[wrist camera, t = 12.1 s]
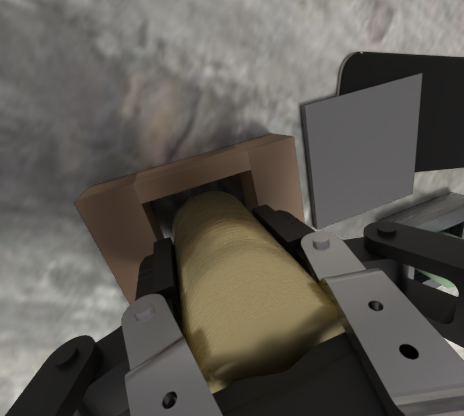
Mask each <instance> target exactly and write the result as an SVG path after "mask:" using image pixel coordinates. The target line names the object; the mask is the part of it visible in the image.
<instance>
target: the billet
mask: <svg viewBox="0 0 464 416" xmlns="http://www.w3.org/2000/svg"><path fill="white" fill-rule="evenodd" d="M172 234H173V243H174V252H175V261H176V270H177V279H178V288H179V297H180V306H181V315H182V324H183V333H184V339H185V341H186V343H187V345H188V347H189V349H190V351H191V353H192V355H193V357H194V359H195V361H196V363H197V365H198V367H199V369H200V371H201V373H202V375H203V377H204V379H205V381H206V383H207V385H208V387H209V389H210V391H211V393H212V394H213V393H215V392H217V391H219V390H221V389H224V388H226V387H228V386H230V385H232V384H234V383H236V382H239V381H241V380H243V379H249V378H254V377H260V376H266V375H272V374H278V373H283V372H286V371H287V370H289V369H290V368H291V367H292V366H293V365H294V364H295V363H297V362H298V361H299V360H300V359H301V358H302V357H303V356H304V355H306V354H307V353H308V352H309V351H310V350H311V349H312V348H314V347H315V346H316V345H318V344H320V343H322V342H324V341H326V340H328V339H331V338H333V337H335V336H337V335H339V334H341V333H343V332H346V331H345V330H344V328H343V326H342V324H341V323H340V322H339V321H338V315H337V308H336V307H335V305H334V304H333V302H332V301H331V299H330V298H329V297H328V295H327V294H326V293H325V291H324V290H323V289H322V288H321V286H320V285H319V284H318V283H317V282H316V281H315V280H314V279H313V278H312V277H311V276H310V275H309V274H308V273H307V272H306V271H305V270H304V268H303V267H302V266H301V265H300V264H299V263H298V262H297V261H296V260H295V259H294V258H293V257H292V256H291V255H290V254H289V253H288V252H287V251H286V250H285V249H284V248H283V246H282V245H281V244H280V243H279V242H278V241H277V240H276V239H275V238H274V237H273V236H272V235H271V234H270V233H269V232H268V231H267V230H266V229H265V228H264V227H263V226H262V224H261V223H260V222H259V221H258V220H257V219H256V218H255V217H254V216H253V215H252V214H251V213H250V212H249V211H248V210H247V209H246V208H245V207H244V206H243V205H242V204H241V202H240V201H239V200H237V199H236V198H235V197H233V196H232V195H230V194H227V193H224V192H220V191H208V192H203V193H200V194H197V195H195V196H193V197H191V198H190V199H188V200H187V201H186V202H185V203H184V204H183V205H182V206H181V207H180V208H179V210H178V211H177V213H176V215H175V217H174V221H173V226H172Z"/></svg>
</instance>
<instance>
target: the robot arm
mask: <svg viewBox="0 0 464 416" xmlns="http://www.w3.org/2000/svg"><path fill="white" fill-rule="evenodd" d="M252 215H253V216H254V217H255V218H256V219H257V220H258V221H259V222H260V223H261V224H262V226H263V227H264V228H265V229H266V230H267V231H268V232H269V233H270V234H271V235H272V236H273V237H274V238H275V239H276V240H277V241H278V242H279V243H280V244H281V245H282V246H283V248H284V249H285V250H286V251H287V252H288V253H289V254H290V255H291V256H292V257H293V258H294V259H295V260H296V261H297V262H298V263H299V264H300V265H301V266H302V267H303V268H304V270H305V271H306V272H307V273H308V274H309V275H310V276H311V277H312V278H313V279H314V280H315V281H316V282H317V283H318V284H319V285H320V286H321V288H322V289H323V290H324V291H325V293H326V294H327V295H328V297H329V298H330V299H331V301H332V302H333V304H334V305H335V307H336V308H337V315H338V321H339V322H340V323H341V324H342V326H343V328H344V330H345V331H346V332H343V333H341V334H339V335H337V336H335V337H333V338H331V339H328V340H326V341H324V342H322V343H320V344H318V345H316V346H315V347H314V348H312V349H311V350H310V351H309V352H308V353H307V354H306V355H304V356H303V357H302V358H301V359H300V360H299V361H298V362H297V363H295V364H294V365H293V366H292V367H291V368H290V369H289V370H287V371H286V372H283V373H278V374H272V375H266V376H260V377H254V378H249V379H243V380H241V381H239V382H236V383H234V384H232V385H230V386H228V387H226V388H224V389H221V390H219V391H217V392H215V393H213V394H212V393H211V391H210V389H209V387H208V385H207V383H206V381H205V379H204V377H203V375H202V373H201V371H200V369H199V367H198V365H197V363H196V361H195V359H194V357H193V355H192V353H191V351H190V349H189V347H188V345H187V343H186V341H185V339H184V333H183V324H182V315H181V306H180V297H179V288H178V279H177V270H176V261H175V252H174V245H173V242H172V240H171V238H170V237H168V238H165V239H162V240H159V241H156V242H154V248H153V254H152V255H149V256H146V257H145V258H144V259H143V261H142V262H141V264H140V267H139V274H138V282H137V289H136V297H135V302H133V303H132V304H131V305H130V306H129V307H128V308H127V309H126V310H125V312H124V314H123V316H122V319H121V324H122V325H121V326H120V327H119V328H118V329H116V330H115V331H113V332H112V333H110V334H109V335H107V336H106V337H104V338H102V339H101V340H99V341H98V342H95V341H94V339H93V338H92V337H90V336H87V335H84V336H79V337H76V338H73V339H71V340H69V341H68V342H66V343H64V344H63V345H61V346H60V347H59V348H58V349H56V350H55V351H54V352H53V353H52V354H51V355H50V356H49V357H48V359H47V360H46V361H45V363H44V364H43V365H42V367H41V368H40V369H39V371H38V372H37V373H36V375H35V376H34V377H33V379H32V380H31V381H30V383H29V384H28V385H27V387H26V388H25V389H24V391H23V392H22V393H21V395H20V396H19V397H18V399H17V400H16V401H15V403H14V404H13V406H12V407H11V408H10V410H9V411H8V412H7V414H6V415H5V416H130V415H131V416H464V360H463V359H462V358H461V357H460V356H459V355H458V353H457V352H456V351H455V350H454V349H453V348H452V347H451V346H450V345H449V344H448V342H447V341H446V340H445V339H444V338H446V339H447V340H449V341H451V342H453V343H455V344H457V345H459V346H461V347H463V348H464V239H461V238H457V237H452V236H448V235H444V234H440V233H436V232H432V231H428V230H424V229H420V228H416V227H411V226H407V225H403V224H399V223H395V222H387V221H381V222H374V223H371V224H369V225H367V226H366V227H365V228H364V237H361V238H354V239H348V240H342V239H341V238H340V237H339V236H338V235H336V234H334V233H331V232H325V231H319V232H315V231H314V230H313V229H311V228H310V227H308V226H307V225H306V224H304V223H303V222H302V221H300V220H299V219H298V218H295V216H293V215H292V214H291V213H289V212H287V211H283V210H277V211H275V210H274V209H272V208H271V207H270V206H269V205H267V204H265V205H262V206H259V207H256V208H253V209H252ZM409 266H411V267H414V268H417V269H419V270H422V271H425V272H428V273H430V274H433V275H436V276H439V277H442V278H444V279H447V280H448V281H450V282H452V283H453V284H454V285H455V286H456V287H457V289H458V291H459V296H458V297H456V296H453V295H451V294H448V293H446V292H443V291H441V290H438V289H436V288H433V287H430V286H428V285H425V284H423V283H420V282H418V281H415V280H413V279H410V278H408V272H409ZM443 337H444V338H443Z"/></svg>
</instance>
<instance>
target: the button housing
mask: <svg viewBox="0 0 464 416" xmlns="http://www.w3.org/2000/svg"><path fill="white" fill-rule="evenodd" d="M381 221H387V222H395V223H399V224H403V225H407V226H411V227H416V228H420V229H424V230H428V231H432V232H436V233H437V232H440V231H444V232H447V233H449V234H452V235H454V236H457V237H459V238H462V239H464V195H461V194H457V193H453V192H451V193H448V194H446V195H443V196H441V197H438V198H436V199H433V200H430V201H428V202H425V203H423V204H420V205H418V206H415V207H412V208H410V209H407V210H405V211H402V212H400V213H397V214H394V215H392V216H389V217H387V218H384V219H382V220H379V222H381ZM408 278H410V279H413V280H415V281H418V282H420V283H423V284H425V285H428V286H430V287H433V288H437V287H439V286H441V284H440V283H438V282H436V281H435V280H433V279H431V278H429V277H428V276H426V275H424V274H423V273H421V272H419V271H418V270H416V269H415V268H414V267H411V266H409V272H408Z"/></svg>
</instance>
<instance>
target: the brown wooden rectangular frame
mask: <svg viewBox="0 0 464 416" xmlns="http://www.w3.org/2000/svg"><path fill="white" fill-rule="evenodd" d="M238 173H239V177H240V181H241V185H242V190H243V194H244V198H245V203H246V207H247V210H248V211H249V212H250V213H251V214H252V209H253V208H256V207H259V206H262V205H265V204H267V205H269V206H270V207H271V208H272V209H274V210H275V211H277V210H283V211H287V212H289V213H291V214H292V215H293V216H295V218H298V219H299V220H300V221H302V222H303V223H304V224H305V220H304V212H303V204H302V196H301V188H300V180H299V172H298V164H297V156H296V148H295V140H294V137H293V136H286V135H279V134H268V135H265V136H261V137H258V138H255V139H251V140H248V141H244V142H241V143H238V144H234V145H231V146H227V147H224V148H220V149H217V150H214V151H210V152H207V153H203V154H200V155H197V156H193V157H190V158H186V159H183V160H179V161H176V162H173V163H169V164H166V165H162V166H159V167H156V168H152V169H149V170H145V171H142V172H138V173H135V174H132V175H128V176H125V177H121V178H118V179H115V180H111V181H108V182H104V183H101V184H97V185H94V186H91V187H89V188H88V189H87V190H86V191H85V192H84V193H83V194H82V195H81V196H80V197H79V198H78V199H77V200H76V201H75V202H74V205H75V206H76V208H77V210H78V212H79V214H80V215H81V217H82V219H83V221H84V223H85V224H86V226H87V228H88V230H89V232H90V233H91V235H92V237H93V239H94V241H95V242H96V244H97V246H98V248H99V250H100V252H101V253H102V255H103V257H104V259H105V261H106V262H107V264H108V266H109V268H110V270H111V271H112V273H113V275H114V277H115V279H116V280H117V282H118V284H119V286H120V288H121V289H122V291H123V293H124V295H125V297H126V298H127V300H128V302H129V304H130V305H131V304H132V303H133V302H135V297H136V289H137V282H138V274H139V267H140V264H141V262H142V261H143V259H144V258H145V257H146V256H149V255H152V254H153V248H154V242H156V241H159V240H162V239H165V238H164V235H163V233H162V231H161V228H160V226H159V223H158V221H157V218H156V216H155V213H154V211H153V209H152V206H151V204H150V201H152V200H156V199H159V198H162V197H165V196H168V195H171V194H175V193H178V192H181V191H184V190H187V189H191V188H194V187H197V186H200V185H203V184H206V183H210V182H213V181H216V180H219V179H222V178H225V177H229V176H232V175H235V174H238Z"/></svg>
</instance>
